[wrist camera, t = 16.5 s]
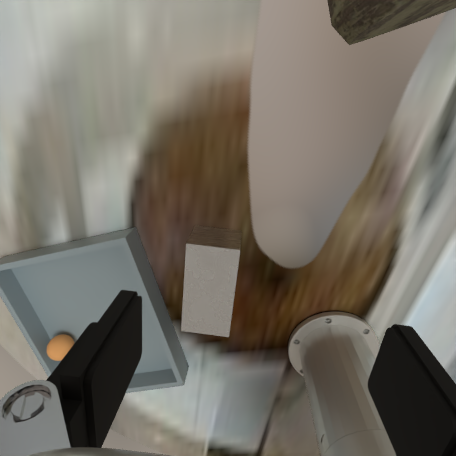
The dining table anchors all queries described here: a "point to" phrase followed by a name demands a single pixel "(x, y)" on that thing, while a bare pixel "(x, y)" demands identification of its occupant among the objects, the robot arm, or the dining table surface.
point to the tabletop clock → (380, 15)
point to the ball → (59, 347)
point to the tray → (91, 300)
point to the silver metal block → (210, 280)
